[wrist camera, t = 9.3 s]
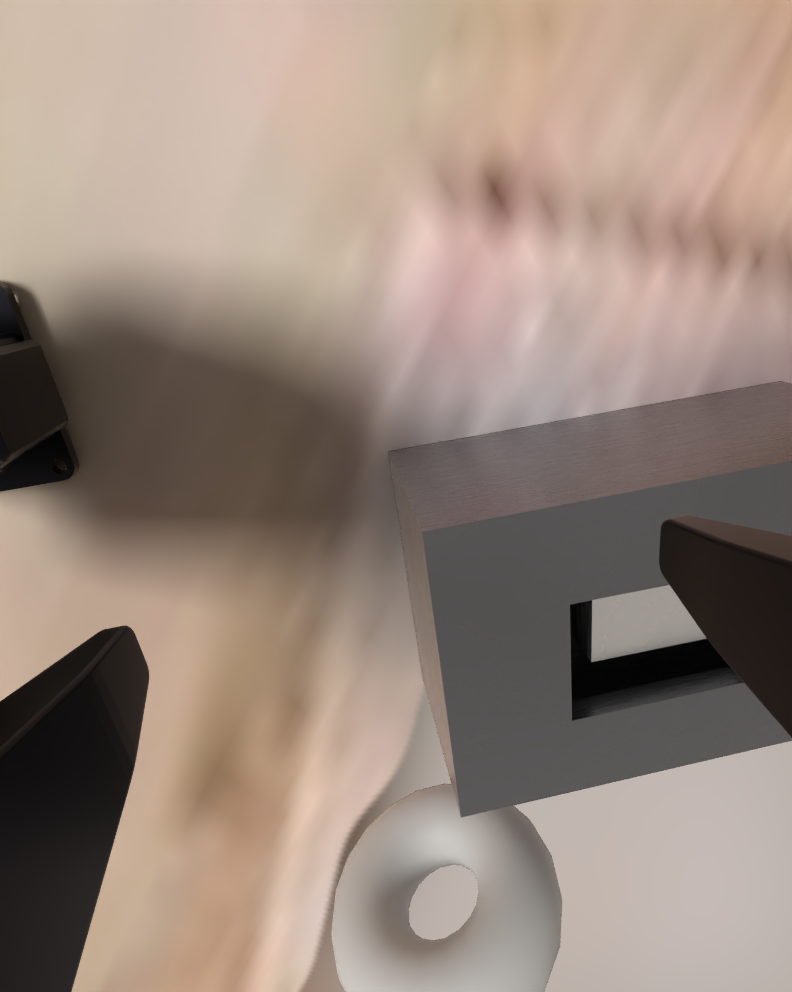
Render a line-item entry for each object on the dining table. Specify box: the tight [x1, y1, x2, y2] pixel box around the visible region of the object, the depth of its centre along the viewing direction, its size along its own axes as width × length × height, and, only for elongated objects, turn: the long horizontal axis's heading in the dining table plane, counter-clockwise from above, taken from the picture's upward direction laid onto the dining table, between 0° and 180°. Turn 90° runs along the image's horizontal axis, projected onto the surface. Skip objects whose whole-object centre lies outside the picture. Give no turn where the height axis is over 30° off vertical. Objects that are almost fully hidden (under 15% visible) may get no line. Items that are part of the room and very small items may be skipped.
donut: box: [332, 784, 562, 992], centre depth 24 cm, size 10×4×10 cm, turn 111°
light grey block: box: [570, 584, 707, 662], centre depth 21 cm, size 6×2×5 cm, turn 97°
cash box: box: [388, 381, 792, 817], centre depth 20 cm, size 16×11×7 cm
